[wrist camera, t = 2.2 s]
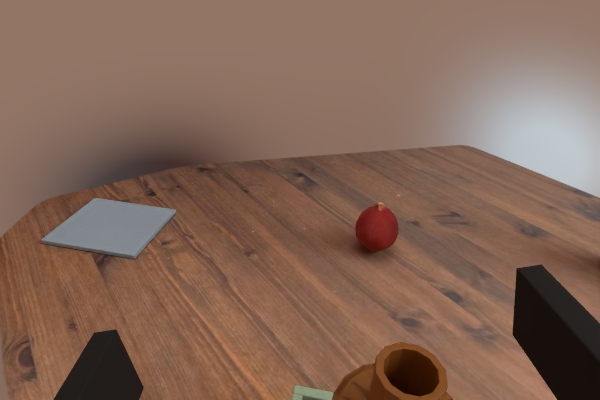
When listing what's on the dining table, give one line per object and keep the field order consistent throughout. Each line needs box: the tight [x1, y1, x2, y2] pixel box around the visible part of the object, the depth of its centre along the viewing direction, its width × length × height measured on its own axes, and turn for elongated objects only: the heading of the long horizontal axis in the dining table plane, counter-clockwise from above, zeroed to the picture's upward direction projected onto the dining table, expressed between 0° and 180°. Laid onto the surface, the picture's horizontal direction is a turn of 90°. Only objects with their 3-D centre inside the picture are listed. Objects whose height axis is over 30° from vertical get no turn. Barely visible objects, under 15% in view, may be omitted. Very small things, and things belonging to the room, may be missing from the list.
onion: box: [355, 202, 398, 252], centre depth 56 cm, size 6×6×8 cm
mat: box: [41, 198, 176, 259], centre depth 60 cm, size 14×12×1 cm
